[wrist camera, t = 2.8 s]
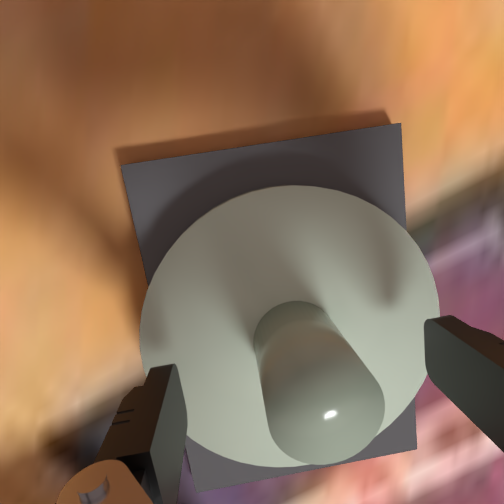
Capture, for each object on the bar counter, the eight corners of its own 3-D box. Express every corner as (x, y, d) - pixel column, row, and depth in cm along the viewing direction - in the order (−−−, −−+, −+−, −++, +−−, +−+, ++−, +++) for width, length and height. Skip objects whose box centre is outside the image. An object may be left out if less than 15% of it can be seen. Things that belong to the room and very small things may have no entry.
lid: (116, 210, 12) (40, 235, 7) (416, 163, 13) (544, 155, 8) (178, 466, 15) (154, 619, 10) (426, 417, 15) (527, 539, 10)
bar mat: (125, 165, 12) (120, 165, 12) (392, 125, 13) (401, 122, 12) (197, 481, 16) (196, 492, 15) (410, 439, 16) (417, 448, 15)
